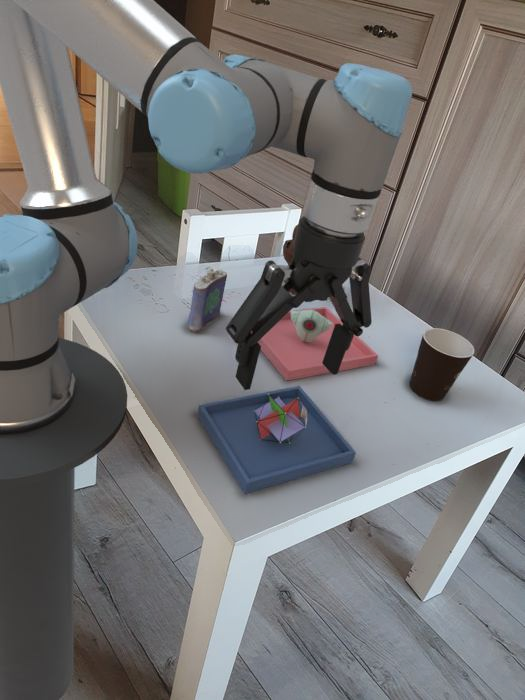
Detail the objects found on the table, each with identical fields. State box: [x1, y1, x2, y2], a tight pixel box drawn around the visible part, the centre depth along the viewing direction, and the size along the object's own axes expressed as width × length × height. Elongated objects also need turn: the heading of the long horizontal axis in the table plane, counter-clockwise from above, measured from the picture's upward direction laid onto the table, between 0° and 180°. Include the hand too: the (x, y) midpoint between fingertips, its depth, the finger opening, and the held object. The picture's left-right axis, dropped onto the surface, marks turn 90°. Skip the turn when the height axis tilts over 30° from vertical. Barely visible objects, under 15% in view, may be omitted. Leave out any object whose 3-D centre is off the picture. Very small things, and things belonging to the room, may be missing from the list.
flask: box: [187, 266, 228, 334], centre depth 97 cm, size 9×3×11 cm, turn 153°
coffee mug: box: [408, 327, 475, 402], centre depth 94 cm, size 12×9×10 cm
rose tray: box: [251, 306, 379, 381], centre depth 100 cm, size 19×17×2 cm
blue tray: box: [197, 385, 357, 494], centre depth 77 cm, size 17×15×2 cm
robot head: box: [290, 310, 333, 342], centre depth 98 cm, size 8×4×7 cm, turn 77°
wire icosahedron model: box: [254, 394, 308, 443], centre depth 76 cm, size 7×7×8 cm
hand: (288, 375), depth 72 cm, fingers open, 13 cm apart
